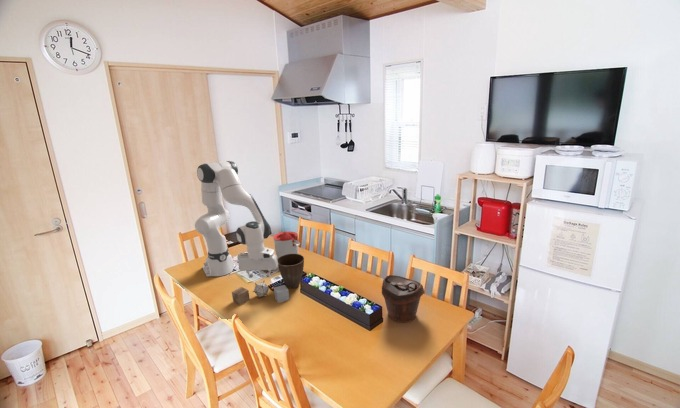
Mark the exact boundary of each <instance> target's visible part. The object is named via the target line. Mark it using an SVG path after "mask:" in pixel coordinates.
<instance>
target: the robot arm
mask: <svg viewBox="0 0 680 408" xmlns="http://www.w3.org/2000/svg"><path fill="white" fill-rule="evenodd" d="M238 168H239V167H238V166H237V164H236V162H234V161H232V160H226V161H225V160H224V161H221V160H220V161H213V162H209V163H203V164H199V165H198V167H197V169H196V174H197V175H196V176H197V178H198V180H199V181H200V182H201V186H200V187H201V203H202V205H204V206H206V208H207V213H205V214H203V215H201V216H200V217H199V218H198V219H197V220H195V223H194V228H195V229H194V230H196V232H197V233H198V234H200V235H202V236H203V237H204V239H205V242H206V246H207V258H205V260H204V262H203V266H202V270H203V272H204V275H205V276H206V277H222V276H225V275H228V274H230V273H231V272H233V271H234V269H235V268H236V266H237V265H236V264H235V263H234V260H233V257H232V255H231V254H230V251H229V248H228V244H227V239H226V236H225V235H224V234H223V233H221V231H220V228H222V226H224V225H226V224H227V223H228V221H229V220H230V219H231V218H230V217H231V215H230V212H229V210H228V209H227V208H225V206H224V202H223V198H224V200H225V202H227V203H229V204H231V205H235V206H242V207H245V208H247V209H248V210H249V212H250V213H251V215H252V216H253V219H254V221H248V222H246V223H245V225H241V226H239V227H237V228H236V231H235V237H236V238H235V239H236V241H237V242H238V244H239V243H240V244H241V245H244V246H245V245H246V249H247V250H246V251H247V252H246V253H245V252H244V253H239V254H237V256H236V257H237V261H238V270H239V271H240V272H244V271H245V272H246V274H247V275H248V278H250V279H251V278H253V277H254V275H253V274H254V273H252V272H251V271H268V272H267V273H266V278H270V277H271V276H272V275H271V273H272V271H273V270H274V271H275V270H277V269H278V260H277V259H278V257H277V255H276V251H275V248H273V249H272V248H270V247H266V246H265V243H264V240H265V239H268V238H269V236H270V234H271V232H272V228H271V225H270V223H269V222H268V221H267V220H266V218H265V216H264V215H263V212H262V211H261V209H260V207H259V204H258V203H257V201H256V200H255V198H254V197H253V195H252V194H250V193H249V192H247V190H245V189H244V187H243V184H242V182H241V179H240V177H239V176H238V174H239V169H238Z"/></svg>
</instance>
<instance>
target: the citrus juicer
mask: <svg viewBox="0 0 680 408" xmlns="http://www.w3.org/2000/svg"><path fill="white" fill-rule="evenodd" d="M298 236H299V235H298V233H297V232H296V231H282V232H278V233H276V234H274V235H273V237H272V238H273V242H274V243H273V244H274V251H275V255H276V257H277V259H278V258H279V257H281V256H283V255H286V254H299V246H300V245H301V242H300V241H299V238H298Z"/></svg>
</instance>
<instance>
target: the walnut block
mask: <svg viewBox="0 0 680 408" xmlns="http://www.w3.org/2000/svg"><path fill="white" fill-rule="evenodd" d="M231 297H232V302H233V303H234V304H236V305H238V306H242V305H244V304H245V303H247V302H249V301H251V299H250V293H249V289H247V288H244V287H242V286H240V287H238V288H236V289H234V290H232V291H231Z"/></svg>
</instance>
